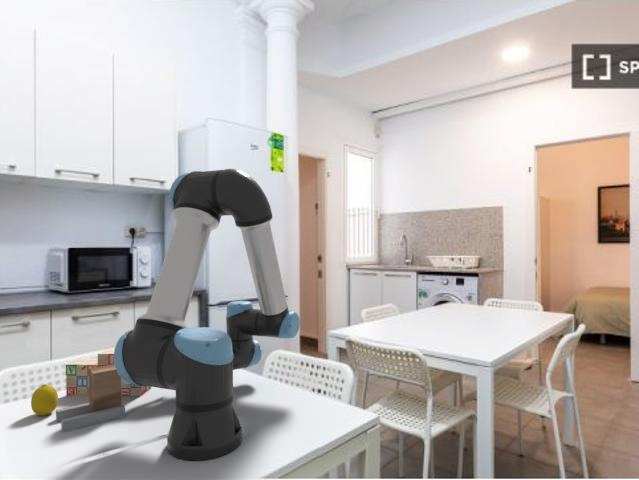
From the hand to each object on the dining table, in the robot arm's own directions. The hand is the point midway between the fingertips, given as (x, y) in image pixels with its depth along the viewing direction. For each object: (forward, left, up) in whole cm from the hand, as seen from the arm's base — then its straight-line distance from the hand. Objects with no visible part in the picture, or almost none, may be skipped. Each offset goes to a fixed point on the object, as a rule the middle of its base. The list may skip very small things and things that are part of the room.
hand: (119, 379), depth 107 cm
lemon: (+10, +14, -9) cm, 19 cm away
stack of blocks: (+16, -2, -9) cm, 19 cm away
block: (0, +3, -8) cm, 8 cm away
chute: (0, +6, -9) cm, 11 cm away
